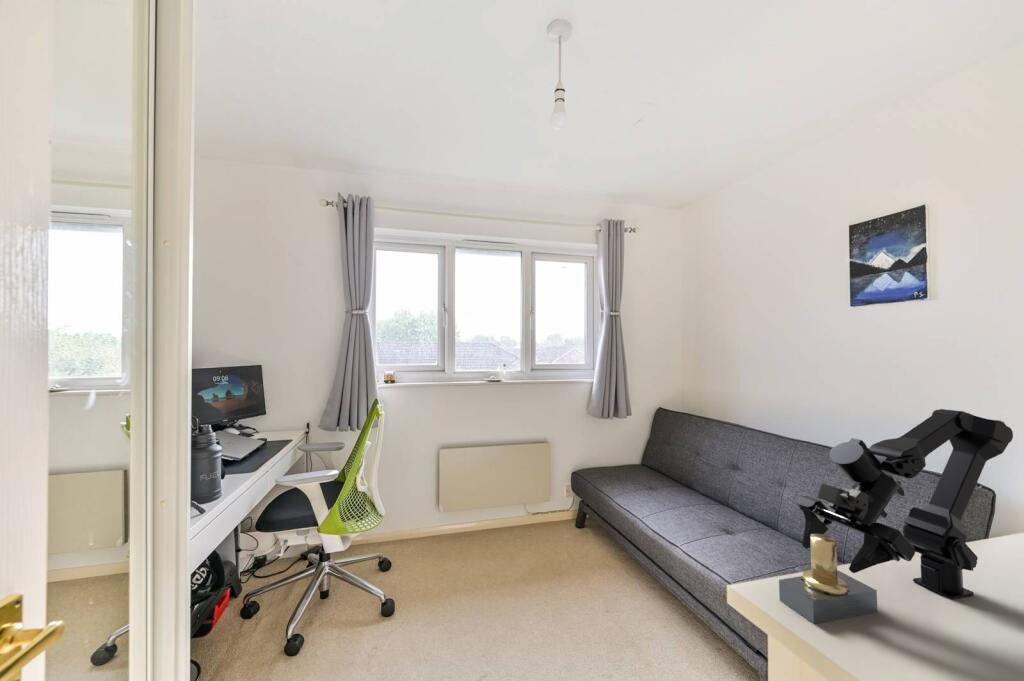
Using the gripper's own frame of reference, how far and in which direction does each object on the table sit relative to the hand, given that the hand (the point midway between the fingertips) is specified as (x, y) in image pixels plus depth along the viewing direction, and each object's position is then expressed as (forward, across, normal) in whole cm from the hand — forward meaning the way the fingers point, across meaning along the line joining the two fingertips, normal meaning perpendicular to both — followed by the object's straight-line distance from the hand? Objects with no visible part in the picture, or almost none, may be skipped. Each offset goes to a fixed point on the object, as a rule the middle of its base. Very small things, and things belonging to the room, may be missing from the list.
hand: (826, 558), depth 76 cm
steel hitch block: (+7, 0, +6) cm, 9 cm away
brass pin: (+7, 0, +6) cm, 9 cm away
